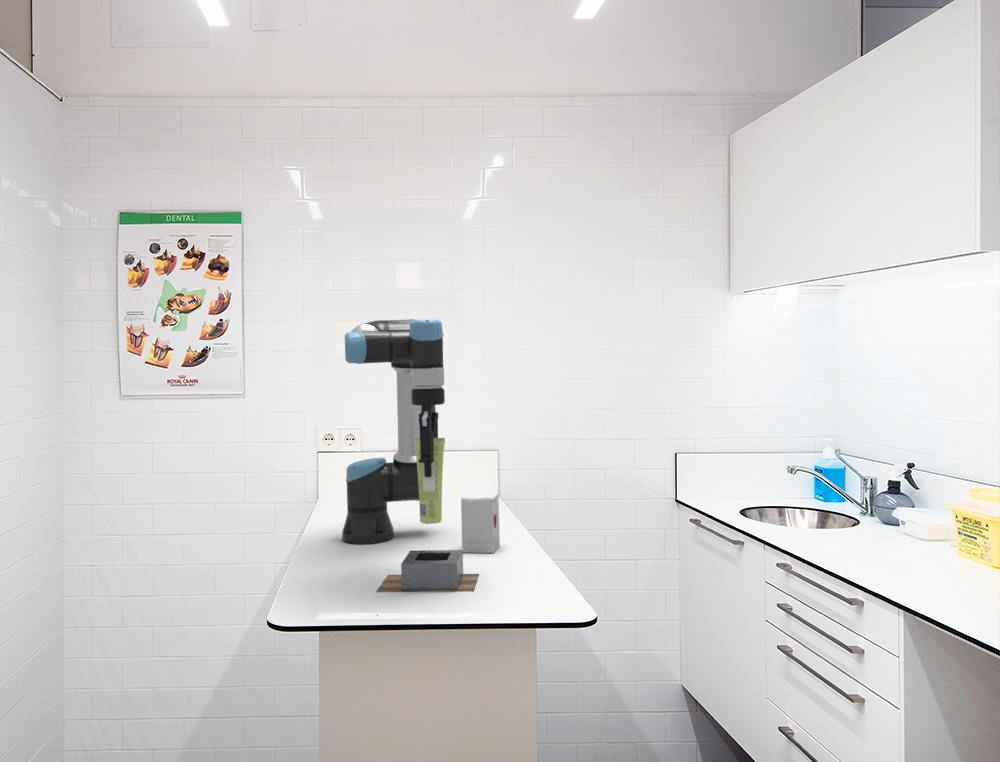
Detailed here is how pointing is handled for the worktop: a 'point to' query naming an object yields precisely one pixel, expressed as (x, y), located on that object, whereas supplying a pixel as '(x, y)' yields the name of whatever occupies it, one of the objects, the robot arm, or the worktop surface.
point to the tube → (433, 499)
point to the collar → (432, 570)
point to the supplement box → (480, 522)
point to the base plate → (395, 585)
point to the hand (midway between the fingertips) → (430, 488)
